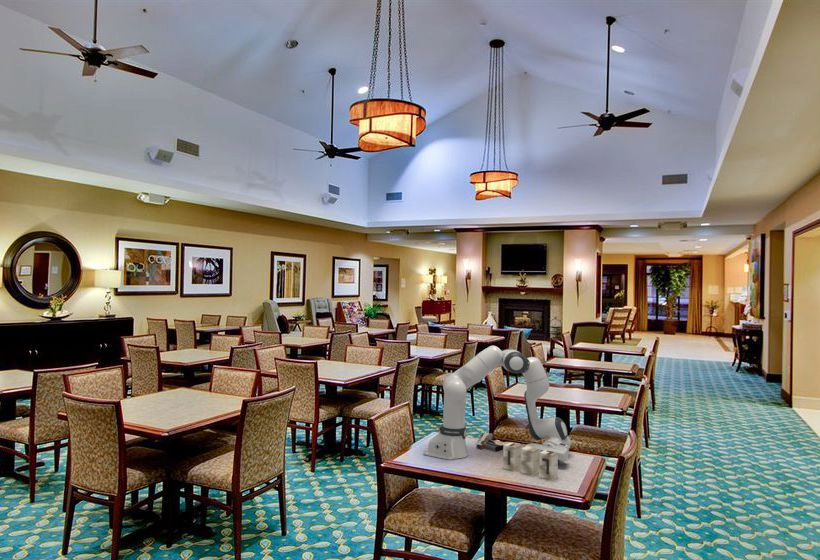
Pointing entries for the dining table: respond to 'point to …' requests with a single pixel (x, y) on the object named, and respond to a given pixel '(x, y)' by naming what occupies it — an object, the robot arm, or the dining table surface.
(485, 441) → the toy gun
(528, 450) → the plain block
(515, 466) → the block one
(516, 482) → the dining table surface
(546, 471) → the block seven
